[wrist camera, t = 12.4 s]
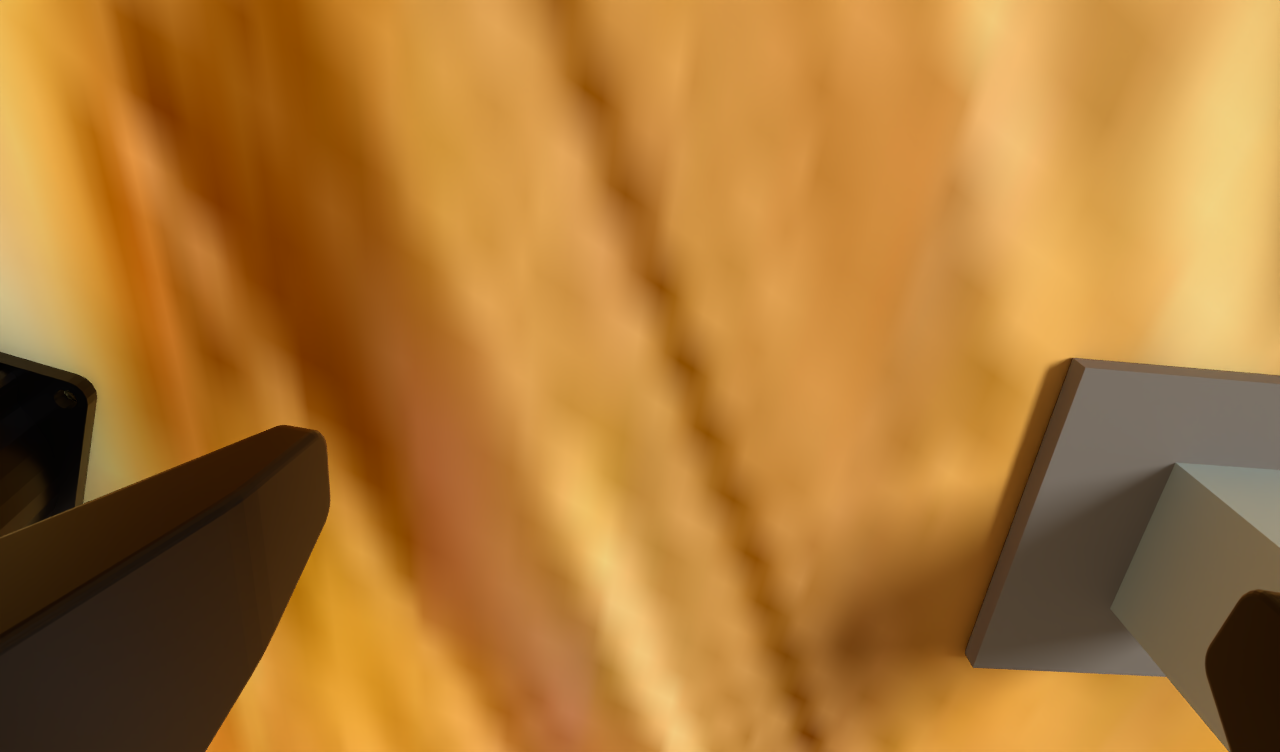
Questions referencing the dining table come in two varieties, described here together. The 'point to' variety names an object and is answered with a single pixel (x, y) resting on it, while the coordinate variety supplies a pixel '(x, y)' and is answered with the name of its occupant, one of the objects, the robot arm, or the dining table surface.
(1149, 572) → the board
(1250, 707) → the robot arm
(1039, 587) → the felt pad
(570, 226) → the dining table surface
